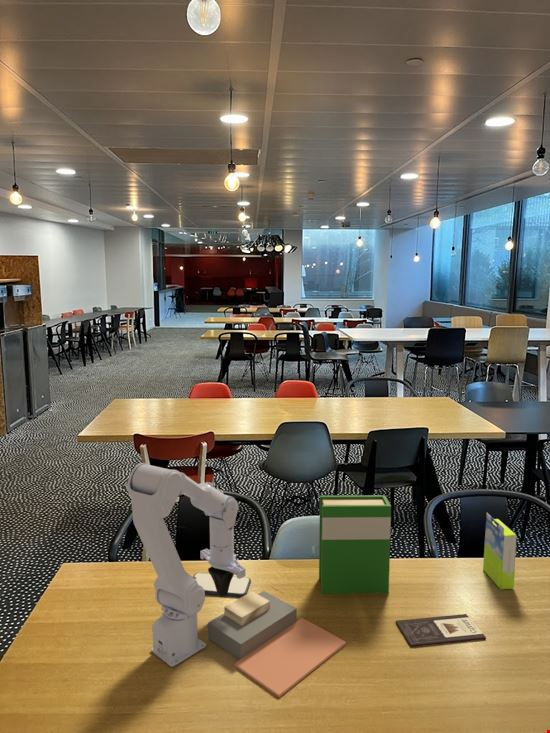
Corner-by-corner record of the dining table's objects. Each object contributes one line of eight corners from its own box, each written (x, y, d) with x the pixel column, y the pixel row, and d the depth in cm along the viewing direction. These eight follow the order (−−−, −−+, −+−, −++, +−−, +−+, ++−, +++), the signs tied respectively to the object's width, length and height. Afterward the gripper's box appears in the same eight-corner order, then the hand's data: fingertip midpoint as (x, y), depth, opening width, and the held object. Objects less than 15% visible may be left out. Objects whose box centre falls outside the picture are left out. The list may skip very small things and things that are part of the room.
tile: (242, 625, 120) (241, 617, 120) (224, 614, 124) (224, 606, 124) (269, 608, 127) (269, 600, 126) (252, 598, 131) (252, 591, 131)
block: (241, 661, 114) (241, 644, 114) (208, 638, 122) (208, 622, 121) (296, 623, 127) (296, 608, 127) (263, 605, 135) (263, 590, 134)
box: (514, 589, 142) (518, 527, 140) (499, 590, 142) (503, 528, 139) (495, 569, 152) (498, 511, 150) (481, 569, 152) (484, 511, 150)
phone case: (251, 582, 147) (195, 577, 149) (251, 576, 147) (195, 571, 149) (245, 600, 138) (185, 594, 141) (245, 595, 138) (185, 589, 140)
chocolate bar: (395, 620, 128) (466, 614, 130) (395, 624, 128) (466, 617, 130) (410, 645, 119) (485, 637, 122) (410, 649, 119) (485, 641, 122)
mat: (279, 697, 104) (279, 694, 104) (234, 666, 113) (234, 663, 113) (346, 644, 120) (346, 641, 120) (302, 620, 129) (302, 617, 129)
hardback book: (321, 593, 140) (322, 506, 137) (318, 578, 148) (319, 495, 144) (388, 593, 140) (391, 506, 137) (382, 578, 148) (384, 495, 144)
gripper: (254, 546, 127) (255, 599, 129) (215, 528, 137) (216, 577, 139) (232, 556, 122) (233, 611, 124) (193, 537, 132) (194, 588, 134)
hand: (222, 594), depth 131 cm, fingers closed
